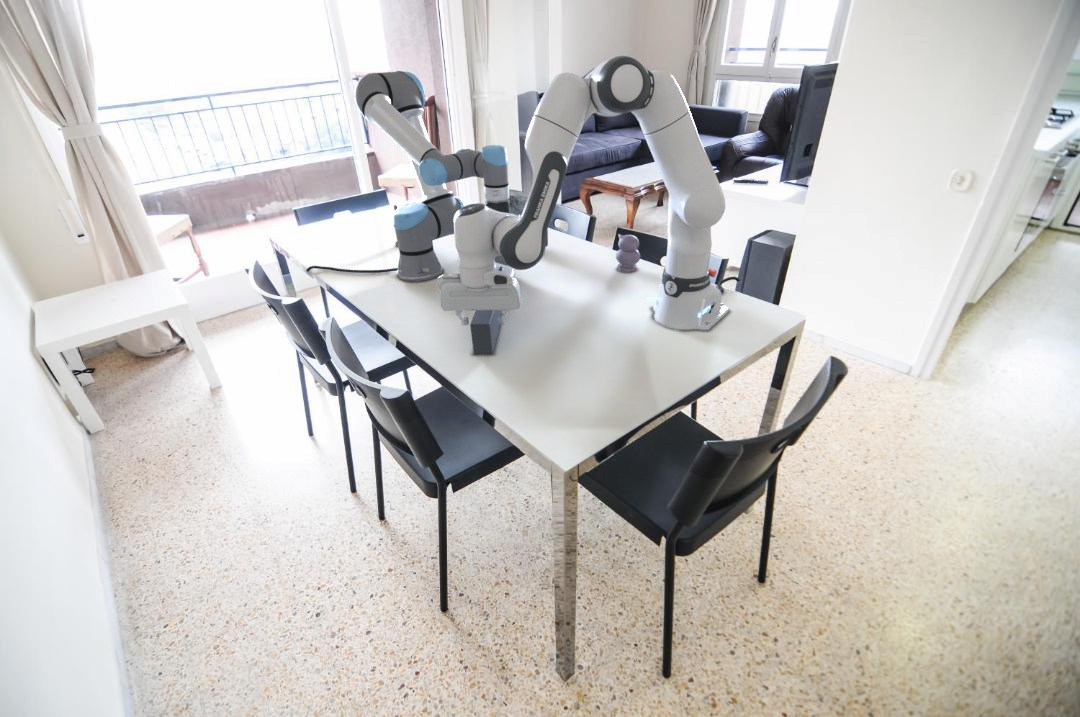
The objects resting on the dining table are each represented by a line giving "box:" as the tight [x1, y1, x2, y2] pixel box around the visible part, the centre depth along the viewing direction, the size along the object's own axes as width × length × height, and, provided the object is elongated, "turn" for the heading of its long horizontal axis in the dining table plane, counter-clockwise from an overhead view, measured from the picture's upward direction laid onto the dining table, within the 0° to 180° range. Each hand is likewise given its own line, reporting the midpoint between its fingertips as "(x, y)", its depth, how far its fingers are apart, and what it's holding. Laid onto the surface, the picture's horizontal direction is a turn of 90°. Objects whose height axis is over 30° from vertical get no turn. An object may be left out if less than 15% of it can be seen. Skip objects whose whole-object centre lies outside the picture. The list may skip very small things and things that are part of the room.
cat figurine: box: [615, 233, 641, 273], centre depth 170 cm, size 8×8×12 cm
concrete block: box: [508, 188, 549, 248], centre depth 191 cm, size 27×9×20 cm, turn 36°
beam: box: [469, 255, 509, 356], centre depth 147 cm, size 53×5×9 cm, turn 177°
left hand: (501, 264), depth 166 cm, fingers open, 13 cm apart
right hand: (483, 324), depth 128 cm, fingers open, 8 cm apart
